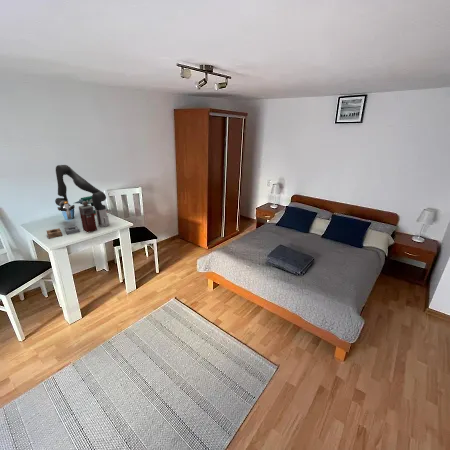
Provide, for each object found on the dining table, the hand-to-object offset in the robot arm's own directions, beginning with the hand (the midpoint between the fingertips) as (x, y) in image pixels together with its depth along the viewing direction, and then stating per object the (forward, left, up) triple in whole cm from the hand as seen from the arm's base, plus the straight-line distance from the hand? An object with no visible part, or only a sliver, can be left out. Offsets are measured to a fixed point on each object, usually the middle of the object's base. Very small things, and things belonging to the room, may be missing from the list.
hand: (68, 209), depth 214 cm
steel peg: (+2, -2, -9) cm, 9 cm away
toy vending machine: (-12, -7, -22) cm, 26 cm away
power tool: (+13, -48, -22) cm, 54 cm away
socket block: (+2, -2, -22) cm, 22 cm away
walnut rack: (+12, +8, -22) cm, 26 cm away
